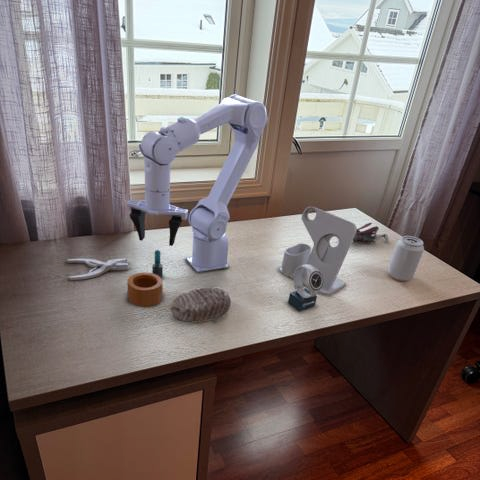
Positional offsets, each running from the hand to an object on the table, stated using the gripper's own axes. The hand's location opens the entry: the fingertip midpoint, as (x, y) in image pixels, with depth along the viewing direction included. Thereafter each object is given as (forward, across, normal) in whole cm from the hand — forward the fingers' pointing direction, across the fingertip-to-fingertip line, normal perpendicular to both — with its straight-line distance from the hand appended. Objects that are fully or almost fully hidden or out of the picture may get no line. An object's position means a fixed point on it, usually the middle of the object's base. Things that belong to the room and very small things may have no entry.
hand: (156, 241), depth 111 cm
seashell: (+11, +15, -12) cm, 22 cm away
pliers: (+11, -16, 0) cm, 19 cm away
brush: (+10, 0, 0) cm, 10 cm away
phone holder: (+10, +41, +15) cm, 44 cm away
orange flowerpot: (+10, 0, -10) cm, 14 cm away
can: (+10, +67, +24) cm, 72 cm away
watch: (+10, +39, -1) cm, 40 cm away
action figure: (+10, +57, +46) cm, 74 cm away
